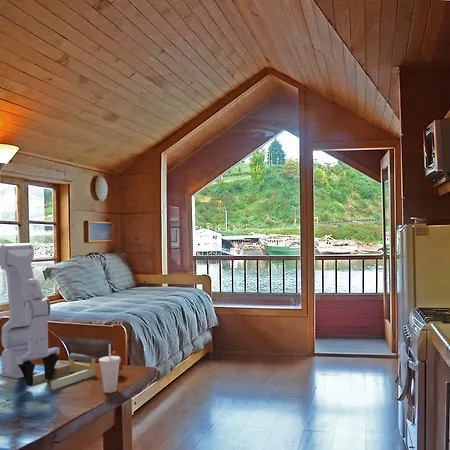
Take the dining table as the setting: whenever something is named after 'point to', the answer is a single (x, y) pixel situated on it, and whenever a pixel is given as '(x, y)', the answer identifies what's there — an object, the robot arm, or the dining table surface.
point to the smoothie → (109, 371)
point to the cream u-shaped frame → (79, 371)
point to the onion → (119, 362)
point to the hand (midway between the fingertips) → (39, 382)
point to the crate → (60, 371)
